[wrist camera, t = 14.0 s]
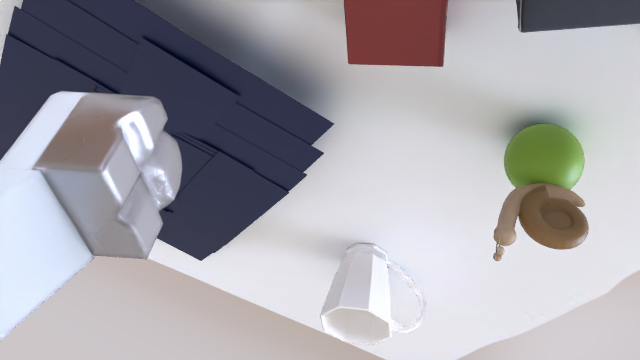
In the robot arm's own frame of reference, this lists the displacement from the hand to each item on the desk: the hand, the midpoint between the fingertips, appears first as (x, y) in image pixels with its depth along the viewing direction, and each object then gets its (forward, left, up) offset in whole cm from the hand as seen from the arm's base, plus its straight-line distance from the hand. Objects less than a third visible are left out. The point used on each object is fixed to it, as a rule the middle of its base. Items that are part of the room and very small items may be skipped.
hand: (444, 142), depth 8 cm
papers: (+25, +27, -29) cm, 47 cm away
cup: (+5, +44, -29) cm, 53 cm away
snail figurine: (-7, +26, -29) cm, 40 cm away
